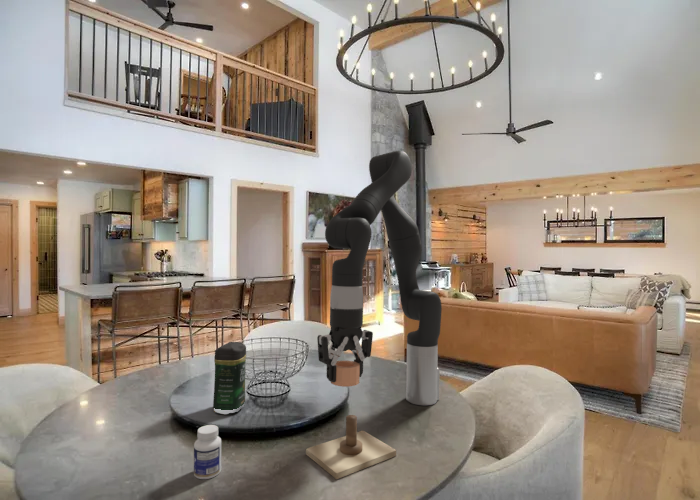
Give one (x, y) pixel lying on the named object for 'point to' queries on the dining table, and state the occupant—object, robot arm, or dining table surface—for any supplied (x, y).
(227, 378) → the coffee jar
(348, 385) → the ring
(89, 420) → the dining table surface
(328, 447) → the base board
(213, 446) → the pill bottle
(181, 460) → the dining table surface
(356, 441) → the post
